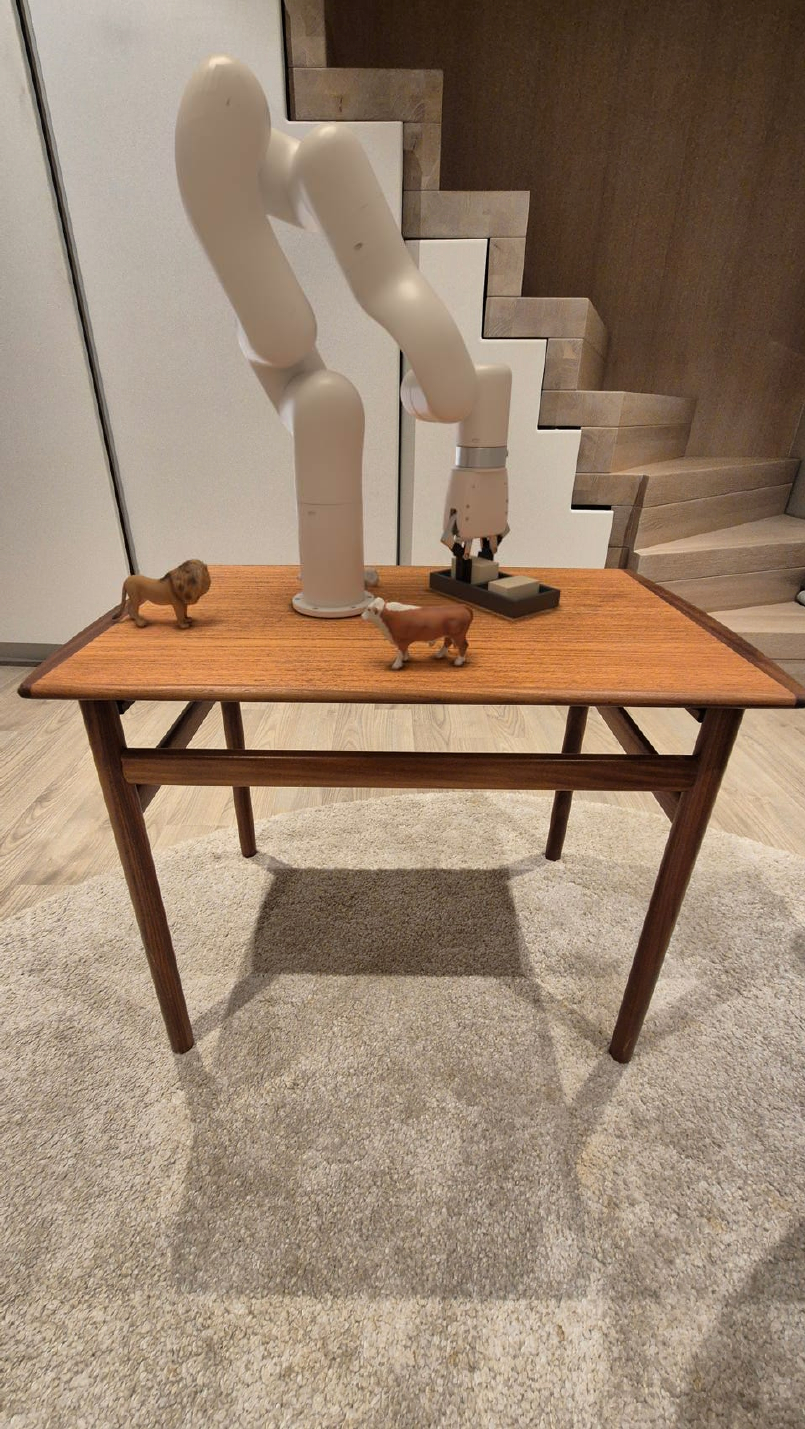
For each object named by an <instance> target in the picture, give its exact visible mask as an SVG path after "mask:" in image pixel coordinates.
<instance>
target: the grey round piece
mask: <svg viewBox="0 0 805 1429" xmlns="http://www.w3.org/2000/svg"><path fill="white" fill-rule="evenodd" d="M380 583H381V578H380V574H379V573H378V571H377V569H376V568H372V567H366V568H364V589H369V588H373V587H378V586H379V584H380Z"/></svg>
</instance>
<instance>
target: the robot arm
mask: <svg viewBox="0 0 805 1429" xmlns="http://www.w3.org/2000/svg"><path fill="white" fill-rule="evenodd" d="M271 120H272V119H271V112H270V108H269V103H268V99H267V96H266V93H265V91H264V90H263V87H262V85H261V83H260V81H259V79H258V78H257V76H256V75H255V73H254V72H253V71H252V70H251V69H250V67H249V66H248V65H247V64H246V63H245V62H244V61H243V60H242V59H240V58H238V57H237V56H235V55H232V54H229V53H221V52H219V53H214V54H210V55H209V56H208V57H206V58H205V59H204V60H202V61H201V62H200V63H199V64H198V65H197V66H196V67H195V68H194V70H193V72H192V74H191V75H190V77H189V79H188V81H187V84H186V86H185V88H184V91H183V94H182V97H181V100H180V103H179V108H178V112H177V116H176V123H175V130H174V162H175V173H176V179H177V185H178V191H179V195H180V200H181V203H182V206H183V210H184V213H185V216H186V219H187V222H188V225H189V227H190V230H191V231H192V234H193V236H194V239H195V240H196V243H197V245H198V246H199V249H200V251H201V253H202V254H203V257H204V258H205V260H206V262H207V265H208V267H209V268H210V271H211V272H212V274H213V276H214V279H215V280H216V283H217V284H218V286H219V288H220V290H221V292H222V293H223V296H224V297H225V299H226V301H227V303H228V305H229V307H230V308H231V310H232V312H233V315H234V318H235V319H234V328H235V330H234V331H235V334H236V338H237V342H238V345H239V347H240V350H241V351H242V354H243V355H244V358H245V359H246V361H247V363H248V365H249V367H250V369H251V371H252V372H253V374H254V375H255V377H256V379H257V381H258V382H259V385H260V386H261V388H262V390H263V391H264V393H265V395H266V397H267V398H268V400H269V402H270V404H271V405H272V407H273V409H274V411H275V413H276V414H277V416H278V417H279V419H280V421H281V422H282V424H283V426H284V427H285V429H286V430H287V431H288V433H289V434H291V435H292V460H293V461H292V465H293V466H292V467H293V487H294V489H293V490H294V500H295V512H296V525H297V526H296V528H297V540H298V554H299V566H300V569H299V570H300V572H298V573H297V575H296V580H298V581H299V582H300V584H301V592H298V593H296V594H295V595H294V596H293V597H292V608H293V609H294V610H295V611H296V612H298V613H299V614H302V615H306V616H310V617H316V618H326V619H327V618H329V619H330V618H335V619H336V618H346V617H347V618H348V617H353V616H357V615H362V614H363V613H364V612H365V610H366V609H367V606H368V605H369V604H371V603H372V602H373V601H374V600H375V599H376V598H375V596H374V594H373V593H371V592H370V591H368V590H366V589H365V588H364V569H365V552H364V550H365V549H364V510H363V509H364V505H363V503H364V502H363V501H364V500H363V459H364V458H363V456H364V455H363V454H364V444H365V435H366V434H365V431H366V415H365V408H364V402H363V400H362V396H361V395H360V393H359V391H358V389H357V388H356V386H355V384H353V382H352V381H351V380H350V379H349V378H348V377H346V376H345V375H343V374H342V373H340V372H338V371H335V370H331V369H328V367H327V366H326V364H325V362H324V359H323V358H322V355H321V353H320V351H319V350H318V348H317V346H316V343H317V339H318V338H317V337H318V324H317V319H316V314H315V312H314V310H313V308H312V305H311V303H310V301H309V299H308V298H307V296H306V294H305V293H304V290H303V288H302V286H301V284H300V282H299V281H298V279H297V277H296V275H295V273H294V271H293V269H292V266H291V264H290V263H289V261H288V258H287V256H286V254H285V253H284V251H283V249H282V246H281V245H280V243H279V240H278V238H277V235H276V233H275V231H274V229H273V226H272V224H271V222H270V219H269V218H268V216H270V217H272V218H274V219H275V220H278V221H281V222H283V223H286V224H288V225H290V226H293V227H295V228H297V229H300V230H303V231H305V232H309V233H314V234H319V235H320V236H321V237H322V239H323V241H324V243H325V245H326V247H327V249H328V251H329V253H330V255H331V257H332V259H333V262H334V263H335V265H336V268H337V269H338V271H339V274H340V275H341V277H342V279H343V281H344V284H345V286H346V287H347V289H348V292H349V294H350V296H351V298H352V300H353V301H354V303H355V304H356V305H357V306H358V308H359V309H360V310H361V311H362V312H363V313H364V314H365V315H366V316H367V317H369V318H370V319H372V320H373V321H374V322H376V323H377V324H378V325H379V326H380V327H382V328H383V329H384V330H385V331H386V332H387V333H388V335H389V336H390V337H391V338H392V339H393V341H394V342H395V343H396V345H397V346H398V347H399V349H400V351H401V352H402V353H403V355H404V357H405V359H406V360H407V363H408V364H409V366H410V368H411V369H409V371H407V373H406V374H405V375H404V377H403V379H402V381H401V385H400V401H401V402H402V406H403V408H404V409H405V410H406V412H407V413H408V414H409V415H410V416H411V417H412V418H415V419H416V420H418V421H421V422H426V423H434V424H435V423H437V424H444V425H451V424H456V436H455V461H454V462H455V463H454V464H455V465H454V468H453V469H450V472H449V476H448V479H447V480H448V481H447V486H446V490H445V497H444V498H445V499H444V507H443V519H442V520H443V522H442V530H443V533H442V534H441V537H440V539H439V540H440V541H439V542H440V543H441V544H442V545H444V546H445V547H446V548H448V550H450V551H451V553H452V557H456V571H455V579H456V580H459V581H462V582H465V583H468V584H470V583H471V572H472V559H469V557H470V555H471V550H472V545H473V540H476V539H479V545H480V546H479V547H480V550H479V551H477V555H476V556H477V557H480V558H484V559H487V560H491V561H494V562H495V555H496V554H497V553H498V551H499V550H498V549H499V546H500V545H501V543H502V542H503V539H505V537H506V536H508V534H509V533H510V531H511V528H510V525H509V523H508V516H509V476H508V468H507V467H506V465H507V458H508V457H509V450H508V449H507V448H508V436H509V424H510V412H511V411H510V410H511V400H512V398H511V397H512V386H513V372H512V370H511V368H510V367H509V365H507V364H504V363H494V362H493V363H492V362H491V363H490V362H489V363H487V362H486V363H482V362H481V363H473V360H472V358H471V354H470V352H469V351H468V348H467V346H466V343H465V341H464V339H463V336H462V334H461V332H460V329H459V327H458V325H457V323H456V322H455V320H454V317H453V316H452V314H451V313H450V311H449V309H448V307H447V306H446V305H445V303H444V302H443V301H442V299H441V298H440V297H439V295H438V294H437V293H436V291H435V290H434V288H433V287H432V285H431V283H430V282H429V281H428V279H427V278H426V277H425V276H424V274H423V273H422V272H421V271H420V270H419V268H418V267H417V265H416V264H415V261H414V260H413V258H412V256H411V254H410V252H409V250H408V247H407V245H406V243H405V240H404V238H403V236H402V233H401V231H400V229H399V226H398V225H397V222H396V220H395V217H394V215H393V213H392V211H391V208H390V206H389V203H388V200H387V199H386V196H385V193H384V191H383V189H382V187H381V185H380V183H379V180H378V178H377V175H376V173H375V171H374V169H373V167H372V164H371V162H370V160H369V158H368V156H367V154H366V151H365V149H364V147H363V144H362V143H361V141H360V140H359V138H358V136H357V135H356V134H355V132H354V131H353V130H352V129H351V128H349V127H348V126H347V125H345V124H344V123H341V122H338V121H326V122H322V123H319V124H317V125H316V126H314V127H313V128H312V129H311V130H309V131H308V132H307V133H306V134H305V135H304V137H303V138H302V140H300V139H297V138H295V137H293V136H291V135H288V134H286V133H284V132H282V131H281V130H279V129H277V128H275V127H273V126H272V121H271ZM462 545H463V546H462Z"/></svg>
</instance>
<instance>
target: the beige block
mask: <svg viewBox="0 0 805 1429" xmlns="http://www.w3.org/2000/svg"><path fill="white" fill-rule="evenodd" d="M513 576H514V577H509V578H505V579H500V580H496V581H491V582H489V584H488V591H491V592H494V593H497V594H500V595H503V596H506V597H509V598H512V599H514V600H515V599H519V598H523V597H527V596H531V595H535V594H538V592H539V584H541V581H540V580H539V579H536V578H533V577H529V576H525V575H522V574H519V575H513Z"/></svg>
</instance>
